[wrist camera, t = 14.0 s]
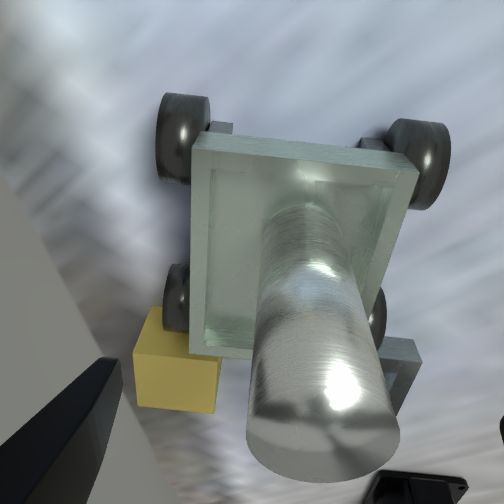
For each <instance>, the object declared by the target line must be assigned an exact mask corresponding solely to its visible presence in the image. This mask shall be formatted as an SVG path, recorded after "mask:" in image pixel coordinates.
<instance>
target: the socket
mask: <svg viewBox="0 0 504 504" xmlns="http://www.w3.org/2000/svg"><path fill="white" fill-rule="evenodd" d="M377 354H378V358H379V361H380V365H381V368H382V371H383V375H384V378H385V382H386V385H387V388H388V392H389V395H390V399H391V402H392V405H393V409H394V412H395V416H397V414H398V412H399V410H400V408H401V406H402V403H403V401H404V399H405V397H406V395H407V393H408V391H409V389H410V387H411V385H412V383H413V381H414V379H415V377H416V375H417V373H418V371H419V369H420V367H421V364H422V360H421V357H420V355H419V353H418V350H417V348H416V345H415V343H414V340H411V339H401V338H392V337H384V339H383V342H382V344H381V347H380V348H379V350H378V351H377Z"/></svg>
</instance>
